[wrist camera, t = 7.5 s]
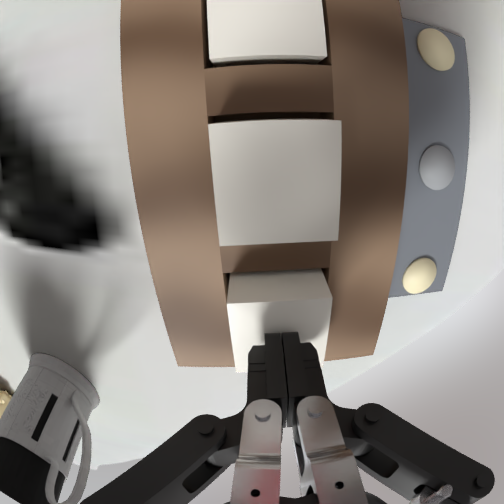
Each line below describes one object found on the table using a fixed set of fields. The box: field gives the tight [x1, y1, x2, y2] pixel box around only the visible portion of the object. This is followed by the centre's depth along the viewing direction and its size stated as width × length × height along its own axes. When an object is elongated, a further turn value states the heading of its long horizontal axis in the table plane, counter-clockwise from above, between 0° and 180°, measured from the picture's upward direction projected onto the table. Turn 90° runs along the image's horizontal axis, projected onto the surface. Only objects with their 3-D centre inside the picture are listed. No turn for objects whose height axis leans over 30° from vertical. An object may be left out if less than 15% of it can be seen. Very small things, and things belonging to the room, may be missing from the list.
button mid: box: [208, 119, 342, 246], centre depth 11 cm, size 4×4×3 cm
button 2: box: [207, 0, 327, 68], centre depth 9 cm, size 4×4×3 cm
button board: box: [120, 0, 409, 367], centre depth 13 cm, size 22×12×3 cm, turn 3°
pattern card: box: [388, 18, 470, 298], centre depth 14 cm, size 17×5×1 cm, turn 3°
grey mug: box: [0, 353, 100, 504], centre depth 16 cm, size 9×14×15 cm, turn 116°
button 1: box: [227, 268, 333, 373], centre depth 14 cm, size 4×4×3 cm
